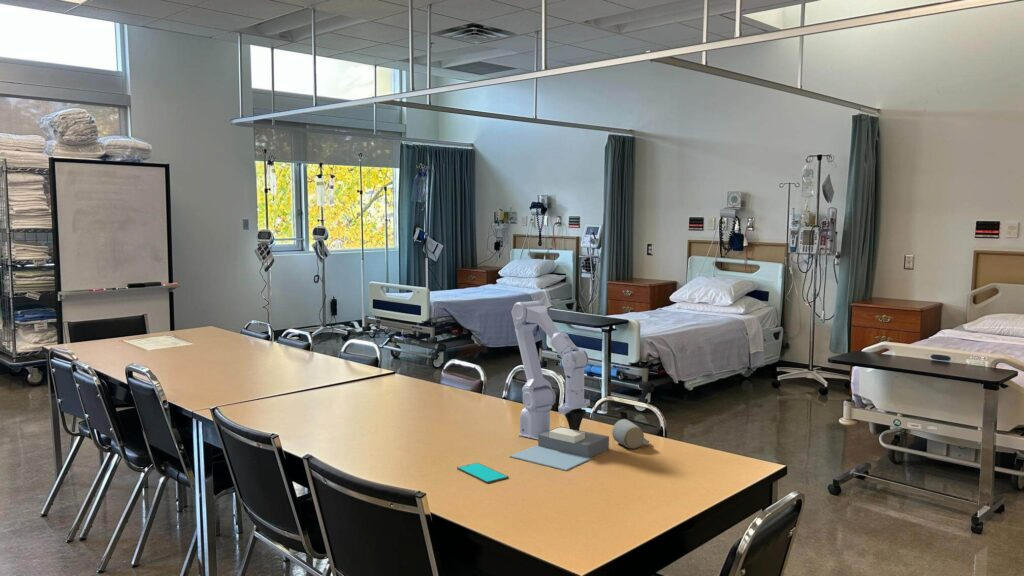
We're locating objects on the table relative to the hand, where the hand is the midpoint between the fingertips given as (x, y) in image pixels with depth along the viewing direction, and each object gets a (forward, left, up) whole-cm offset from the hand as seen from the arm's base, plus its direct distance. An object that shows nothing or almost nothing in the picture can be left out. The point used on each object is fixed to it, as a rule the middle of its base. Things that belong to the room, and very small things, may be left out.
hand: (574, 433), depth 229 cm
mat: (0, -13, -5) cm, 14 cm away
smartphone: (-7, -35, -5) cm, 37 cm away
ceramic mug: (+13, +14, -5) cm, 19 cm away
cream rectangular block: (0, -4, -1) cm, 4 cm away
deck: (0, 0, -5) cm, 5 cm away
